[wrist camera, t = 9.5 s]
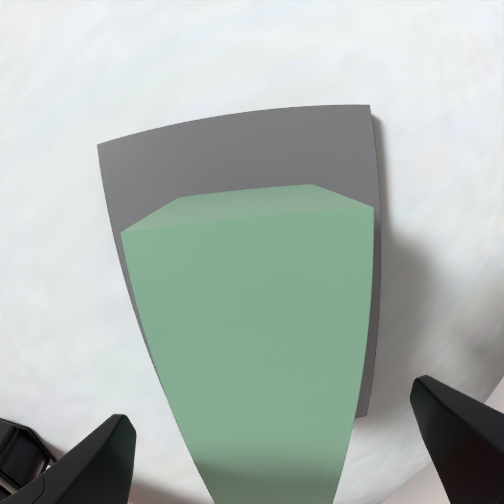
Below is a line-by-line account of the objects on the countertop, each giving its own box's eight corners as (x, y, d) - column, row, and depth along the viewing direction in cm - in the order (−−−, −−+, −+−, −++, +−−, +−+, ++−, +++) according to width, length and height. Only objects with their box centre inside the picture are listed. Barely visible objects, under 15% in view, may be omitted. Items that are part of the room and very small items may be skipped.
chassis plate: (362, 405, 17) (377, 442, 14) (187, 427, 18) (180, 467, 14) (361, 108, 12) (395, 94, 9) (106, 145, 12) (67, 143, 9)
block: (312, 430, 13) (330, 509, 8) (227, 438, 13) (224, 519, 8) (312, 184, 10) (373, 207, 5) (179, 197, 10) (120, 233, 5)
